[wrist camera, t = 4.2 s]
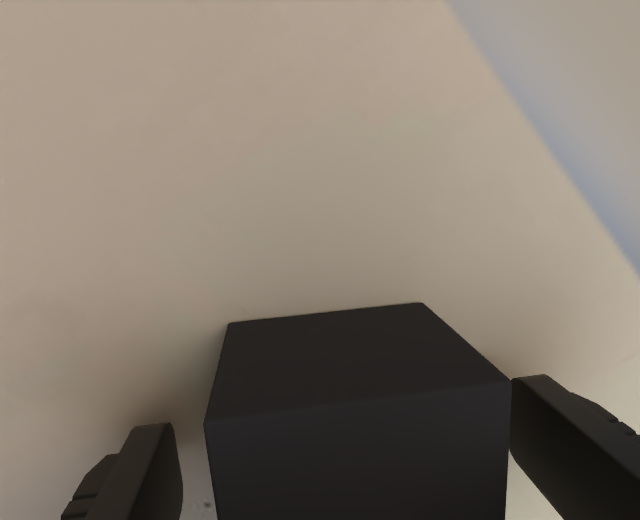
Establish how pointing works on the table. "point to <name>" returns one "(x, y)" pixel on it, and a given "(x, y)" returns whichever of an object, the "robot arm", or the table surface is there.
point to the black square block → (357, 420)
